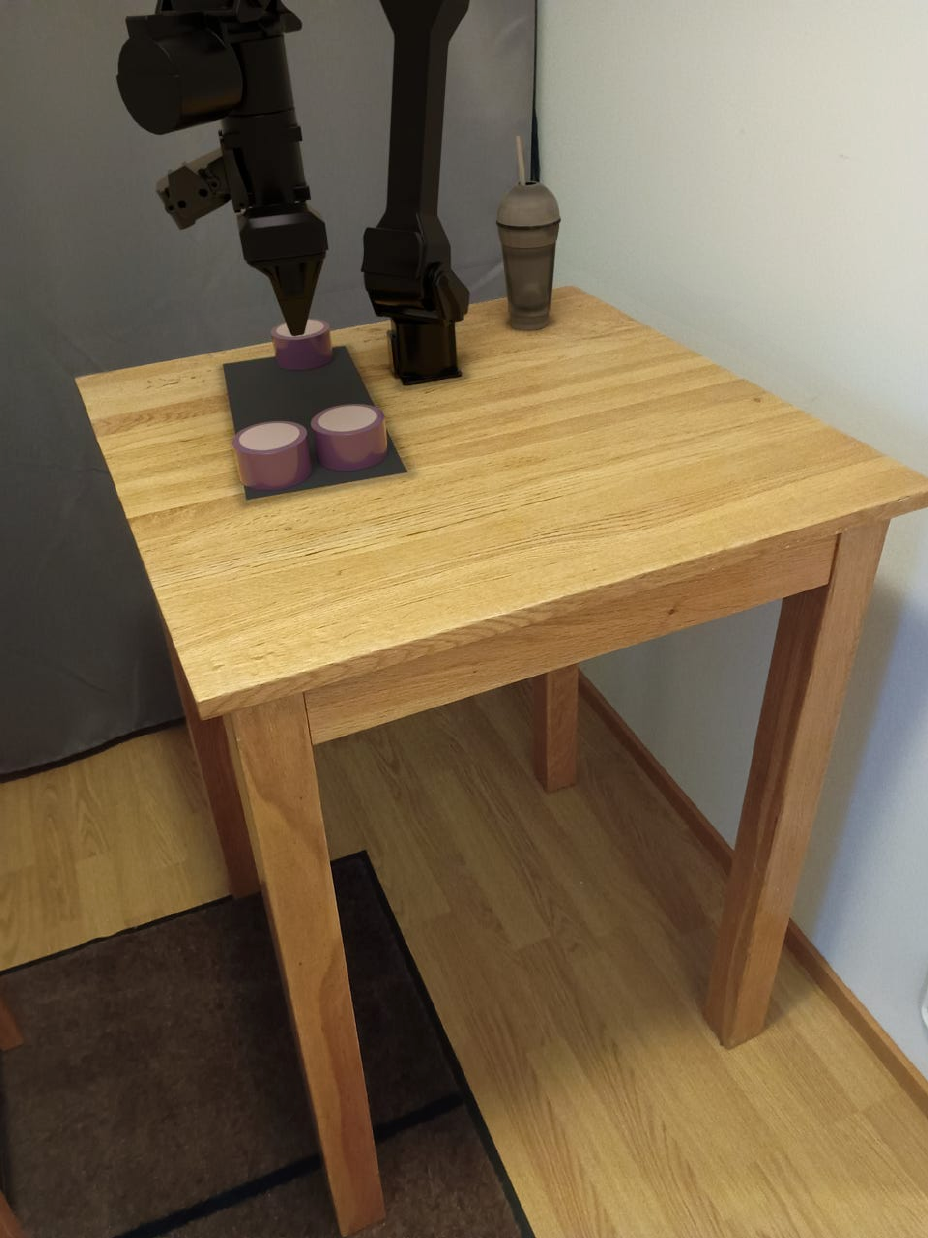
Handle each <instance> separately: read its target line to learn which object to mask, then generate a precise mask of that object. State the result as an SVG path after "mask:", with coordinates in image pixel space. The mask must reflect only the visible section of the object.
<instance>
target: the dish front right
mask: <svg viewBox="0 0 928 1238" xmlns="http://www.w3.org/2000/svg"><path fill="white" fill-rule="evenodd" d="M231 446H232V447H231V448H232V451H233V456H234V459H235V466H236V470H237V474H238V478H239V481H240V483H241V484H242V485H243V486H244V485H245V486H246V487H248V488H251V489H255V490H262V491H272V490H280V489H285V488H289V487H292V486H295V485H297V484H300V483H301V482H303V481H305V480H306V479H307V478H309V477H310V475H311V474H312V472H313V463H312V457H311V452H310V446H309V440H308V434H307V430H306V429H305V427H303V426H302V425H300V424H298V423H294V422H289V421H270V422H264V423H259V424H255V425H252V426H249V427H247V428H245V429H243V430H241V431H240V432H238V433H237V434H236V435H235V434H234V436H233V437H232V439H231Z"/></svg>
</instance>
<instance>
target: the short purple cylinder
mask: <svg viewBox="0 0 928 1238" xmlns="http://www.w3.org/2000/svg"><path fill="white" fill-rule="evenodd" d="M331 331H332V330H331V326H330V324H329V322H327V321H325V320H322V319H317V318H308V321H307V325H306V329H305V333H304V334H303V335H299V336H291V334H290V332H289V329H288V327H287V324H286V322H282V323H279V324H277V325H276V326H273V327H272V328H271V330H270V338H271V343H272V349H273V354H274V356H275V360H276V364H277V366H279V367H280V368H283V369H286V370H309V369H314V368H318V367H321V366H324V365H326V364H328V363H330V362H331V361H332V360H333V358H334V352H333V339H332V333H331Z"/></svg>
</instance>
